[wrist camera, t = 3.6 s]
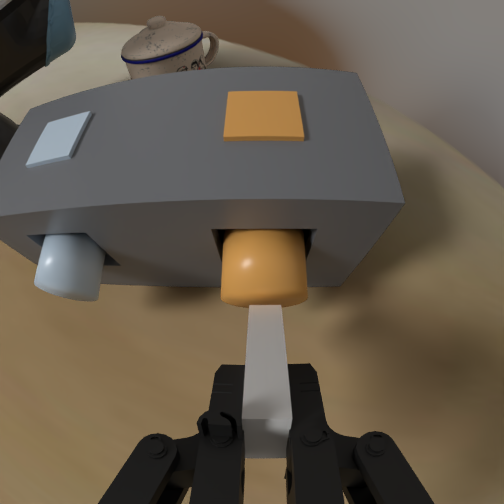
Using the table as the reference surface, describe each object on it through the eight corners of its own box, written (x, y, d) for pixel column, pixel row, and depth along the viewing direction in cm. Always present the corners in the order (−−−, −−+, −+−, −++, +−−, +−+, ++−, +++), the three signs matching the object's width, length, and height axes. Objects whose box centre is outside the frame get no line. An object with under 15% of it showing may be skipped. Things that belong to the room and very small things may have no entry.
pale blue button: (69, 253, 19) (35, 225, 15) (117, 253, 19) (86, 222, 15) (60, 298, 17) (21, 278, 13) (110, 303, 17) (73, 282, 13)
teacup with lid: (165, 132, 30) (137, 43, 19) (129, 105, 32) (101, 32, 22) (244, 83, 33) (239, 3, 22) (200, 63, 35) (188, -6, 25)
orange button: (227, 252, 18) (218, 217, 14) (299, 252, 18) (309, 217, 14) (225, 308, 17) (214, 286, 13) (301, 308, 17) (314, 286, 13)
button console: (88, 189, 27) (28, 106, 16) (327, 181, 26) (357, 69, 15) (64, 281, 23) (-29, 217, 12) (340, 286, 22) (408, 199, 11)
